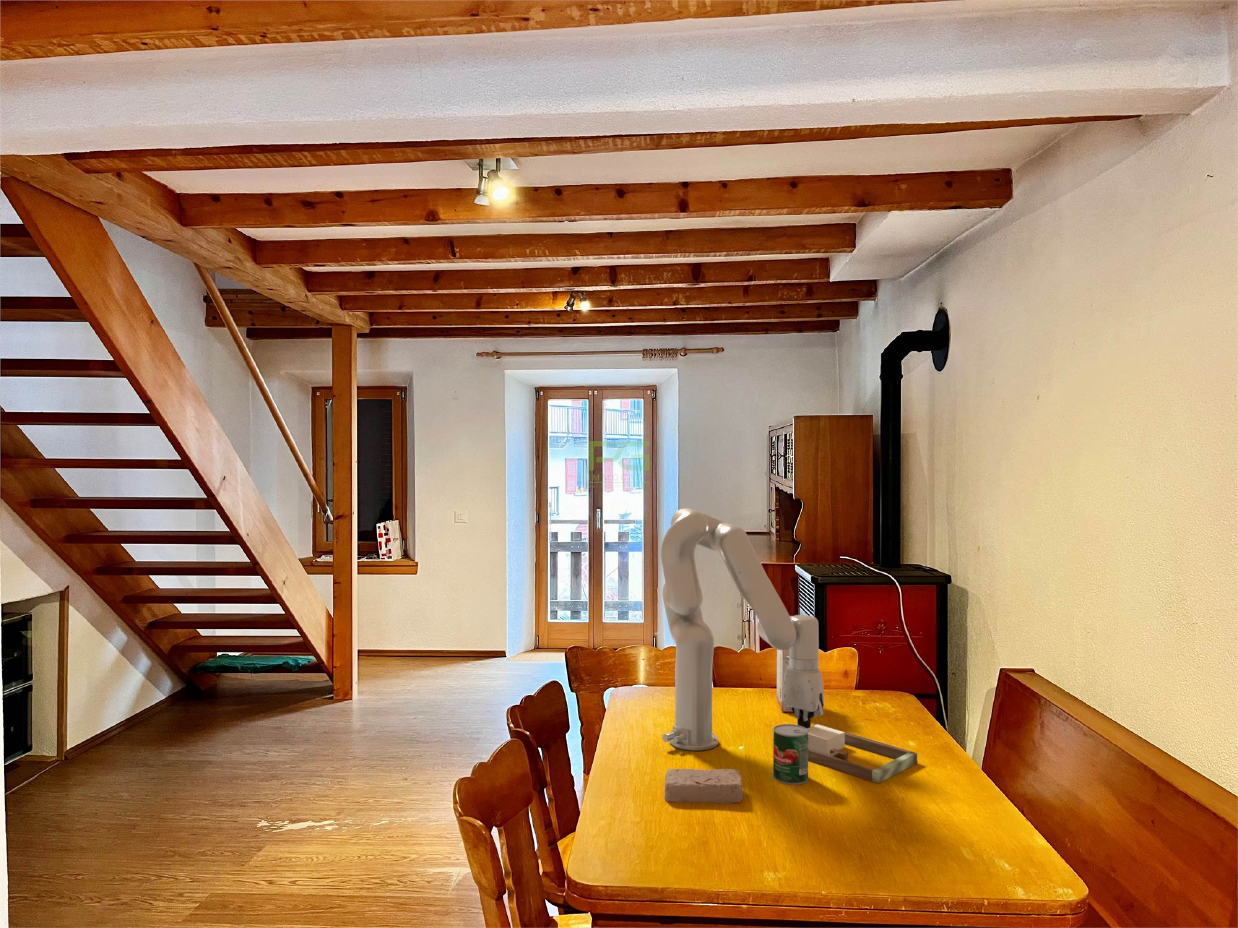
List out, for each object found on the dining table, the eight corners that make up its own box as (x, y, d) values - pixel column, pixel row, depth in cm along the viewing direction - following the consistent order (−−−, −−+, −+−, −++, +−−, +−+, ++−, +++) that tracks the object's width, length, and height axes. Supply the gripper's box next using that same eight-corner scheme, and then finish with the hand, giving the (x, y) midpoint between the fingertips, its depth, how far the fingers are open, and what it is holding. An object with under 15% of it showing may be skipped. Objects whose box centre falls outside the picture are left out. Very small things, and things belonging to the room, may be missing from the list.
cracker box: (802, 713, 220) (802, 640, 220) (781, 712, 220) (781, 640, 221) (796, 698, 234) (796, 630, 234) (776, 698, 234) (776, 630, 235)
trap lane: (878, 783, 171) (878, 772, 171) (776, 749, 192) (775, 739, 192) (917, 762, 183) (917, 752, 183) (816, 732, 204) (816, 723, 204)
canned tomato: (770, 781, 172) (770, 733, 172) (775, 768, 179) (775, 722, 179) (806, 786, 169) (806, 737, 169) (810, 773, 176) (810, 726, 176)
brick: (664, 803, 161) (664, 780, 161) (664, 786, 170) (664, 765, 170) (743, 806, 160) (743, 783, 160) (739, 789, 169) (739, 768, 169)
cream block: (827, 755, 188) (827, 739, 188) (799, 747, 194) (799, 731, 194) (844, 747, 193) (844, 732, 193) (817, 739, 199) (817, 724, 199)
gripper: (771, 660, 202) (771, 730, 202) (820, 671, 191) (821, 745, 191) (788, 656, 207) (788, 723, 207) (837, 666, 196) (837, 737, 196)
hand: (804, 733), depth 199 cm, fingers closed
